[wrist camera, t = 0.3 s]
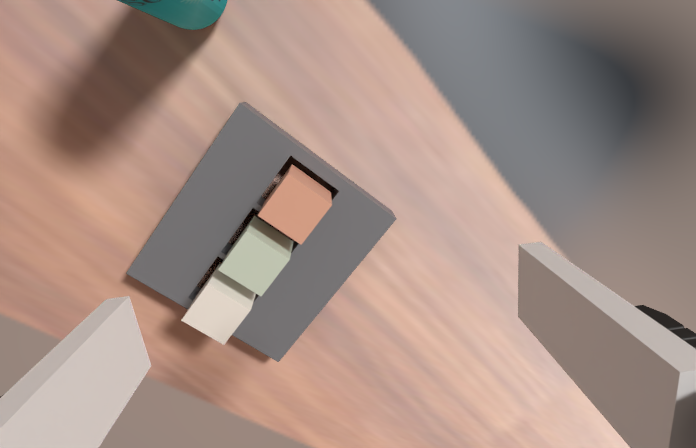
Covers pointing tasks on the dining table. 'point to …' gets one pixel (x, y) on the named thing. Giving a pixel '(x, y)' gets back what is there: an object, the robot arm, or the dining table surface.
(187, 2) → the beverage can
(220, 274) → the cream cube
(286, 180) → the orange cube
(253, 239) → the tile two bar
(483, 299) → the dining table surface
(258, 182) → the tile board
